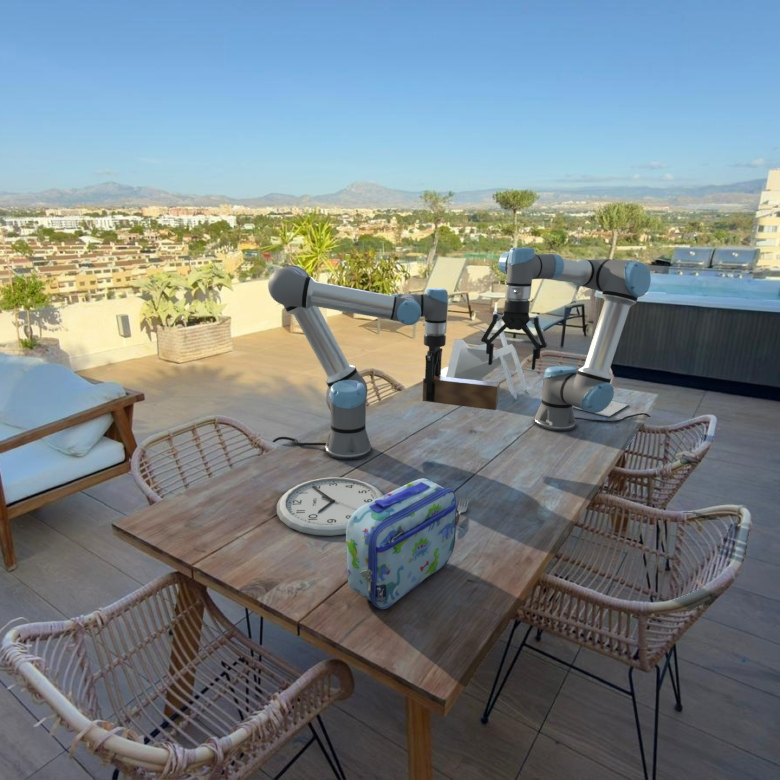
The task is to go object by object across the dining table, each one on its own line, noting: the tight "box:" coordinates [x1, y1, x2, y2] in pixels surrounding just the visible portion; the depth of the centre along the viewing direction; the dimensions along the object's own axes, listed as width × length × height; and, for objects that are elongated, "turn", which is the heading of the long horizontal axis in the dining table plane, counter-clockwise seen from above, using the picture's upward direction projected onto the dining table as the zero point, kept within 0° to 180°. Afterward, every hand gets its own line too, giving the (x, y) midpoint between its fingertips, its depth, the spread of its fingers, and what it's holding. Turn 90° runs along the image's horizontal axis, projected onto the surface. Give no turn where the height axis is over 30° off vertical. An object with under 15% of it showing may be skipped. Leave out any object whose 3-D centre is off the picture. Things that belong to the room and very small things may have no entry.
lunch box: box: [345, 477, 457, 610], centre depth 110 cm, size 26×11×21 cm, turn 134°
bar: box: [422, 375, 501, 411], centre depth 182 cm, size 26×5×8 cm, turn 70°
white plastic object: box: [439, 310, 531, 400], centre depth 245 cm, size 37×45×31 cm
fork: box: [456, 497, 470, 526], centre depth 137 cm, size 3×16×2 cm, turn 160°
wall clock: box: [276, 476, 385, 537], centre depth 142 cm, size 30×2×30 cm
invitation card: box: [573, 400, 629, 418], centre depth 226 cm, size 21×1×15 cm
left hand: (432, 398), depth 187 cm, fingers closed on bar, 5 cm apart
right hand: (511, 366), depth 167 cm, fingers open, 13 cm apart
